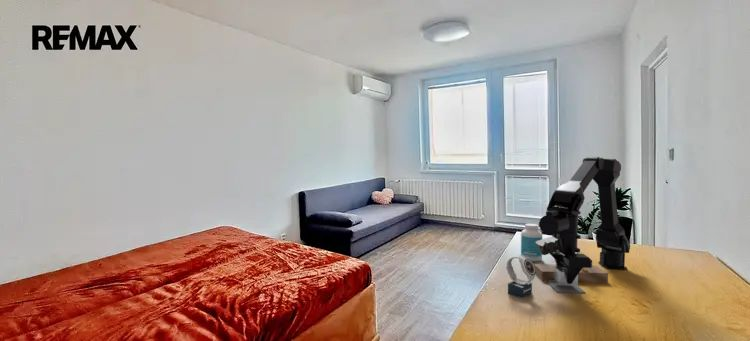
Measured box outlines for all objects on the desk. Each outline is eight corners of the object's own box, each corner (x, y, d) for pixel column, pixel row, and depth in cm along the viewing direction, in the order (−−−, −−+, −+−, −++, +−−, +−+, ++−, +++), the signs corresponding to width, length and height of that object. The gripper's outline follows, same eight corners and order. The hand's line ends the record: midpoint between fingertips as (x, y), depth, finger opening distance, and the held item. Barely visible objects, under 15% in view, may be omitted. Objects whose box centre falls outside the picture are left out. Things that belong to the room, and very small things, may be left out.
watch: (528, 300, 94) (529, 262, 94) (502, 291, 101) (503, 255, 100) (538, 295, 98) (539, 258, 97) (512, 286, 104) (513, 251, 103)
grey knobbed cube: (569, 278, 105) (570, 264, 105) (577, 285, 100) (578, 270, 100) (553, 278, 106) (553, 264, 105) (560, 284, 101) (560, 269, 100)
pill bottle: (545, 262, 126) (546, 226, 125) (525, 262, 126) (526, 227, 125) (536, 256, 133) (537, 222, 132) (517, 256, 133) (518, 222, 132)
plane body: (595, 274, 113) (596, 265, 113) (607, 282, 106) (608, 273, 106) (534, 272, 115) (534, 264, 115) (541, 280, 108) (542, 271, 108)
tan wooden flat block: (580, 265, 113) (581, 252, 112) (588, 271, 108) (588, 257, 107) (574, 265, 113) (574, 252, 113) (581, 270, 108) (582, 256, 108)
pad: (572, 282, 107) (572, 281, 106) (585, 293, 99) (585, 292, 99) (546, 281, 107) (546, 280, 107) (557, 292, 99) (557, 291, 99)
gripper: (528, 223, 112) (527, 268, 113) (551, 237, 93) (550, 292, 94) (563, 223, 111) (562, 269, 112) (594, 238, 92) (592, 293, 93)
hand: (565, 280), depth 103 cm, fingers closed on grey knobbed cube, 5 cm apart
